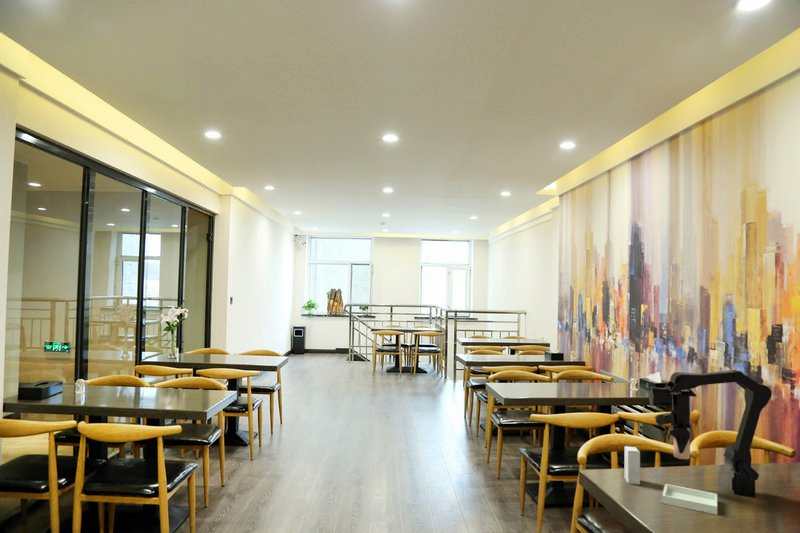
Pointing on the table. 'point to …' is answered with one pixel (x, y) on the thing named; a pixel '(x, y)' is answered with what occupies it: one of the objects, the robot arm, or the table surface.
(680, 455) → the cup
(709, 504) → the tray
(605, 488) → the table surface
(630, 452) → the skincare box
